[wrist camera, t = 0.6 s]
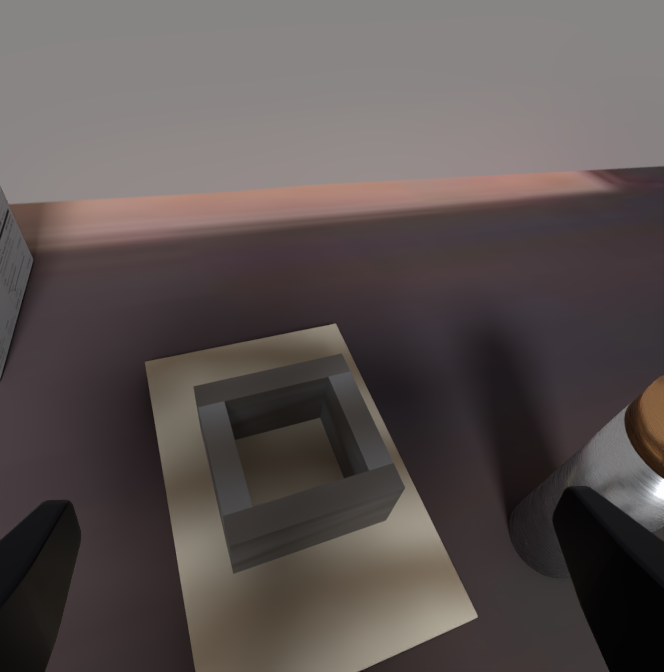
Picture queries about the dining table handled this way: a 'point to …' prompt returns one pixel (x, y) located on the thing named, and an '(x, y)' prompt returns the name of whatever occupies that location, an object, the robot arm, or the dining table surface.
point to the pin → (600, 480)
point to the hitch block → (294, 511)
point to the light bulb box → (11, 275)
